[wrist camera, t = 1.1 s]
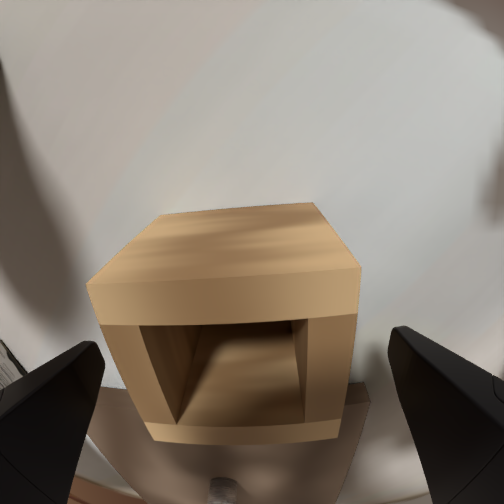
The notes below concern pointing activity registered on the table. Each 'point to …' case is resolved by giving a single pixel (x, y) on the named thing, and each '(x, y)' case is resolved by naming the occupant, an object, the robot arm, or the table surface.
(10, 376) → the candy bar box
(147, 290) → the oak collar
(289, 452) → the pin board
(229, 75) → the table surface
